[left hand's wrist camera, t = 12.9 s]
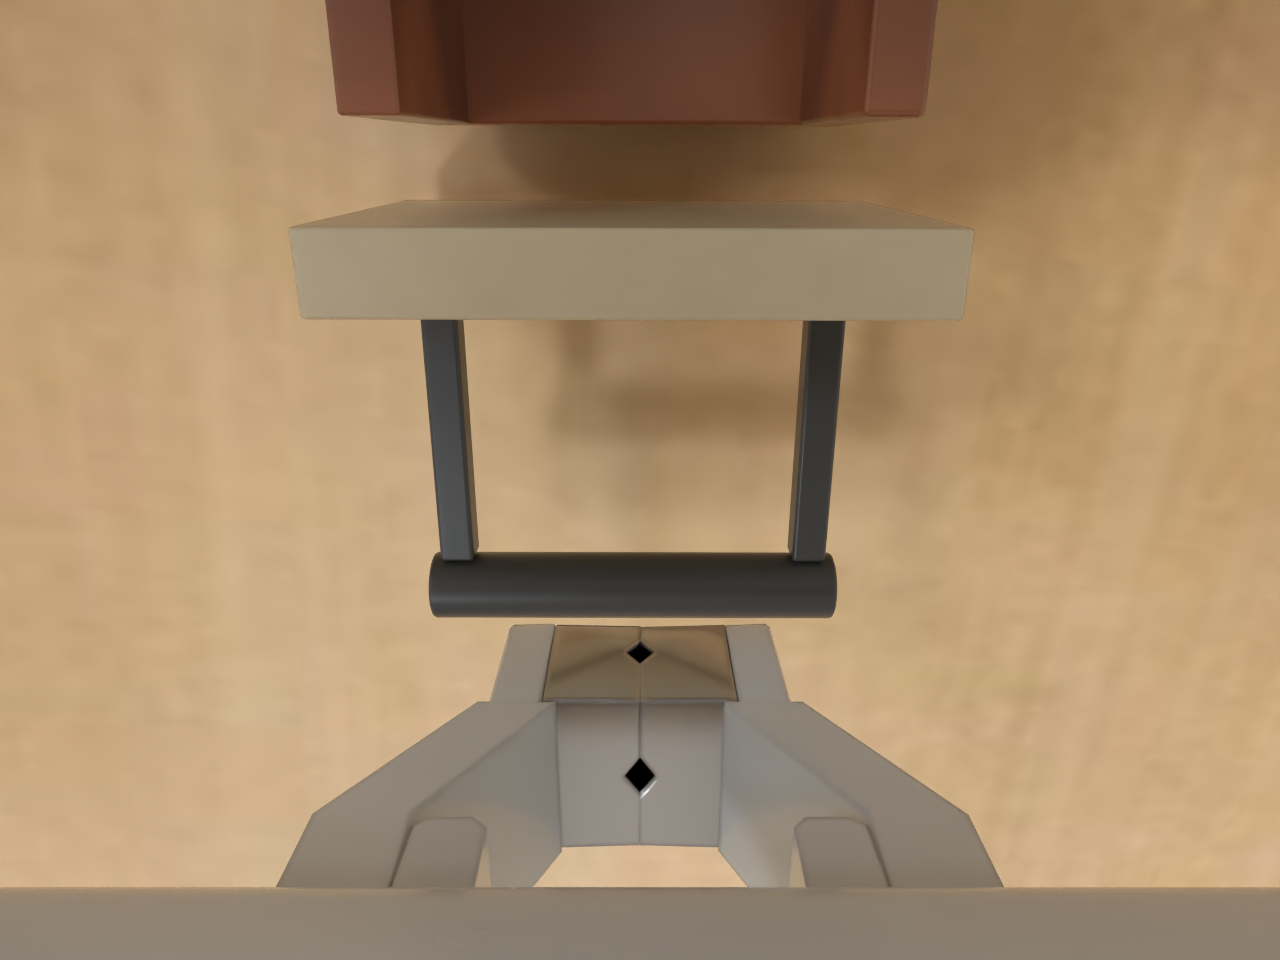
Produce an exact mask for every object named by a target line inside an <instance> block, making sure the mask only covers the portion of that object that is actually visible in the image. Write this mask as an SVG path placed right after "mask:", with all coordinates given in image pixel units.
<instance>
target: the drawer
mask: <svg viewBox="0 0 1280 960" xmlns="http://www.w3.org/2000/svg"><path fill="white" fill-rule="evenodd" d="M937 1H938V0H325V2H326V11H327V20H328V29H329V38H330V47H331V56H332V65H333V74H334V83H335V93H336V102H337V111H338V113H339V114H340V115H344V116H353V117H363V118H372V119H382V120H391V121H401V122H410V123H420V124H431V125H560V126H839V125H849V124H858V123H868V122H878V121H887V120H897V119H906V118H916V117H919V116H922V115H923V114H924V112H925V110H926V102H927V93H928V83H929V74H930V65H931V56H932V47H933V38H934V29H935V20H936V10H937ZM289 233H290V241H291V248H292V255H293V263H294V270H295V278H296V285H297V293H298V300H299V307H300V315H301V317H302V318H303V319H384V320H421V329H422V341H423V352H424V364H425V375H426V387H427V399H428V410H429V422H430V434H431V445H432V457H433V468H434V480H435V492H436V503H437V515H438V526H439V538H440V550H441V552H438V553H436V554H435V556H434V558H433V560H432V564H431V568H430V575H429V601H430V607H431V610H432V613H433V615H434V616H436V617H534V618H830V617H832V616H833V614H834V611H835V607H836V600H837V576H836V569H835V564H834V561H833V558H832V556H831V555H830V554H829V553H825V552H826V540H827V528H828V517H829V505H830V494H831V482H832V471H833V459H834V447H835V436H836V424H837V413H838V401H839V390H840V378H841V366H842V355H843V343H844V332H845V321H960V320H962V318H963V313H964V306H965V298H966V291H967V284H968V276H969V269H970V261H971V254H972V246H973V239H974V230H973V229H971V228H967V227H963V226H959V225H955V224H951V223H947V222H943V221H939V220H935V219H931V218H927V217H923V216H919V215H914V214H910V213H906V212H902V211H898V210H894V209H890V208H886V207H882V206H878V205H874V204H870V203H866V202H862V201H541V200H405V201H401V202H396V203H392V204H388V205H383V206H379V207H375V208H370V209H366V210H362V211H357V212H353V213H349V214H344V215H340V216H336V217H331V218H327V219H323V220H318V221H314V222H310V223H305V224H301V225H296V226H293V227H290V230H289ZM463 320H753V321H803V333H802V347H801V362H800V376H799V390H798V405H797V419H796V434H795V448H794V463H793V477H792V491H791V506H790V520H789V535H788V549H789V552H790V553H712V552H477V550H478V547H479V542H478V527H477V513H476V498H475V484H474V469H473V455H472V440H471V426H470V411H469V397H468V382H467V368H466V353H465V339H464V324H463Z"/></svg>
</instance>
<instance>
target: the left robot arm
mask: <svg viewBox="0 0 1280 960" xmlns="http://www.w3.org/2000/svg"><path fill="white" fill-rule="evenodd" d="M621 845H656V846H693V847H719V849H718V851H719V852H720V853H721V855H722V856H723V857H724V858H725V859H726V861H727V862H728V863H729V864H730V866H731V867H732V868H733V869H734V871H735V872H736V873H737V874H738V876H739V877H740V878H741V879H742V881H743V882H744V883H745V884H746V886H747V887H533V886H534V885H535V884H536V883H537V881H538V880H539V879H540V878H541V876H542V875H543V874H544V873H545V871H546V870H547V869H548V868H549V866H550V865H551V864H552V863H553V862H554V860H555V859H556V858H557V857H558V855H559V854H560V853H561V852H562V848H561V847H586V846H621ZM0 960H1280V887H1004V886H1003V884H1002V882H1001V880H1000V878H999V876H998V874H997V872H996V870H995V868H994V866H993V864H992V862H991V860H990V858H989V856H988V854H987V852H986V850H985V848H984V846H983V844H982V842H981V840H980V837H979V835H978V833H977V831H976V829H975V827H974V825H973V823H972V821H971V819H970V817H969V815H968V814H966V813H965V812H963V811H962V810H960V809H959V808H957V807H956V806H955V805H953V804H952V803H950V802H949V801H947V800H946V799H944V798H943V797H941V796H940V795H938V794H937V793H935V792H934V791H933V790H931V789H930V788H928V787H927V786H925V785H924V784H922V783H921V782H919V781H918V780H916V779H915V778H913V777H912V776H911V775H909V774H908V773H906V772H905V771H903V770H902V769H900V768H899V767H897V766H896V765H894V764H893V763H891V762H890V761H889V760H887V759H886V758H884V757H883V756H881V755H880V754H878V753H877V752H875V751H874V750H872V749H871V748H869V747H868V746H867V745H865V744H864V743H862V742H861V741H859V740H858V739H856V738H855V737H853V736H852V735H850V734H849V733H847V732H846V731H845V730H843V729H842V728H840V727H839V726H837V725H836V724H834V723H833V722H831V721H830V720H828V719H827V718H825V717H824V716H823V715H821V714H820V713H818V712H817V711H815V710H814V709H812V708H811V707H809V706H808V705H806V704H805V703H803V702H790V699H789V695H788V692H787V688H786V684H785V681H784V677H783V674H782V670H781V666H780V663H779V659H778V656H777V652H776V649H775V645H774V641H773V638H772V634H771V631H770V627H769V626H767V625H766V624H750V625H727V626H724V625H704V626H663V627H640V626H588V625H557V626H555V625H554V624H534V625H514V626H512V627H511V628H510V630H509V633H508V637H507V640H506V644H505V648H504V651H503V655H502V659H501V662H500V666H499V670H498V673H497V677H496V680H495V684H494V688H493V691H492V695H491V699H490V702H477V703H475V704H474V705H472V706H471V707H469V708H468V709H466V710H465V711H463V712H462V713H460V714H459V715H457V716H456V717H454V718H453V719H452V720H450V721H449V722H447V723H446V724H444V725H443V726H441V727H440V728H438V729H437V730H435V731H434V732H432V733H431V734H429V735H428V736H426V737H425V738H424V739H422V740H421V741H419V742H418V743H416V744H415V745H413V746H412V747H410V748H409V749H407V750H406V751H404V752H403V753H401V754H400V755H398V756H397V757H396V758H394V759H393V760H391V761H390V762H388V763H387V764H385V765H384V766H382V767H381V768H379V769H378V770H376V771H375V772H373V773H372V774H370V775H369V776H368V777H366V778H365V779H363V780H362V781H360V782H359V783H357V784H356V785H354V786H353V787H351V788H350V789H348V790H347V791H345V792H344V793H342V794H341V795H340V796H338V797H337V798H335V799H334V800H332V801H331V802H329V803H328V804H326V805H325V806H323V807H322V808H320V809H319V810H317V811H316V812H314V813H313V814H312V816H311V818H310V820H309V822H308V824H307V826H306V828H305V830H304V832H303V834H302V836H301V838H300V840H299V842H298V844H297V846H296V848H295V850H294V852H293V854H292V856H291V858H290V860H289V862H288V864H287V866H286V868H285V870H284V872H283V874H282V876H281V878H280V880H279V882H278V884H277V886H276V887H0Z"/></svg>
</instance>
